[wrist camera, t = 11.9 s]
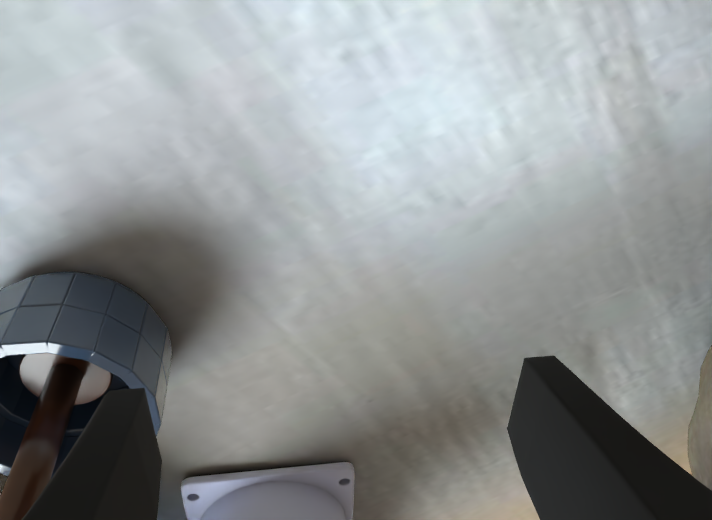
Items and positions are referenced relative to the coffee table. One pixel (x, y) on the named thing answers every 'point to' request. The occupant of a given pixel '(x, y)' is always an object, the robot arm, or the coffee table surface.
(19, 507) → the wooden stamp
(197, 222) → the coffee table surface
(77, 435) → the stir bowl
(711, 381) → the bowl
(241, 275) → the coffee table surface
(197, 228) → the coffee table surface
